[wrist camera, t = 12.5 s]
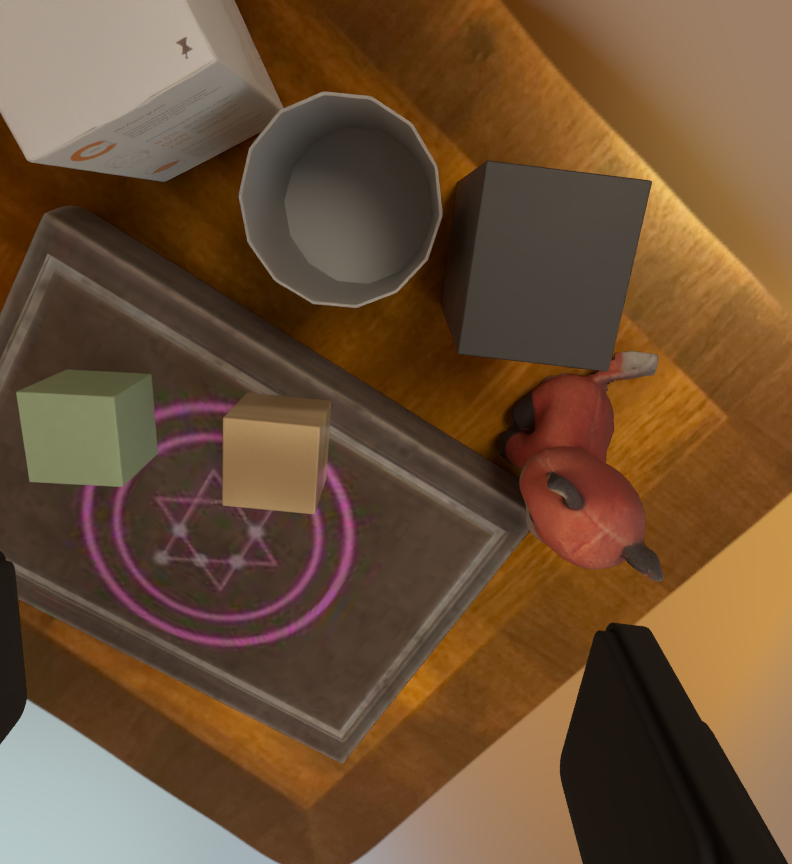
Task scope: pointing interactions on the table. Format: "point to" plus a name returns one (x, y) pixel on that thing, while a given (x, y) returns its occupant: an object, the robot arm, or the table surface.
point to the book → (236, 526)
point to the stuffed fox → (579, 469)
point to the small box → (130, 83)
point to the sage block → (88, 427)
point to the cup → (340, 199)
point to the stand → (541, 263)
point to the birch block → (275, 453)
